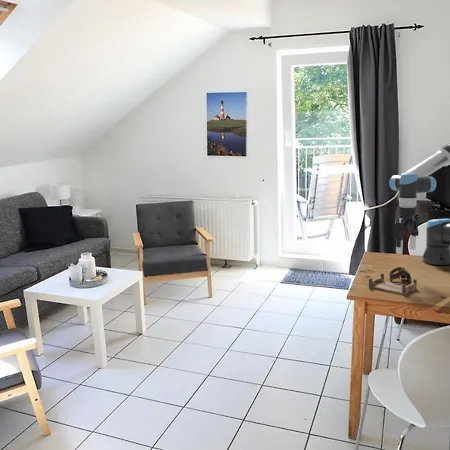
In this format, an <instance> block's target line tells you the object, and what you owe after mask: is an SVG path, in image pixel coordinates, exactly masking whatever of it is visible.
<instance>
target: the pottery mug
mask: <svg viewBox="0 0 450 450" xmlns="http://www.w3.org/2000/svg"><path fill="white" fill-rule="evenodd" d="M388 276H389V280H390V281H389V282H392V281H393V280H397V279H399V280H401V279H403V280H405V279H406V281H408V282H409V285H410V284H412V283H413V280H412V277H411V273H410V272H409V271H408V270H407V268H405V267H403V266H397V267H395V268H393V269H391V270H390V272H389V274H388Z"/></svg>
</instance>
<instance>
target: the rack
mask: <svg viewBox="0 0 450 450" xmlns="http://www.w3.org/2000/svg"><path fill="white" fill-rule="evenodd" d="M417 282H418V280H417V278H413V280H412V283H411V284H410V283H409V284H408V285H407V284H404V283H399V282H398V283H397V282H392V281H386V280H385V274H384V273H380V277H376V278H374V279H373V278H372V277H369V278H368V288H369V289H374V290H377V291H382V292H387V293H392V294H397V295H402V296H405V295H407V294H409V293H411V292H414V291H415V290H417V287H418V285H417V284H418V283H417Z"/></svg>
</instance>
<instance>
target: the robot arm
mask: <svg viewBox="0 0 450 450" xmlns="http://www.w3.org/2000/svg"><path fill="white" fill-rule="evenodd" d="M449 165H450V143H447V144H446V145H443V146H442V147H440V148H438V149H437V150H436V151H435V152H434V154H432V155H431V156H429V157H427V158H426V159H424V160H422V162H420V163H418V164H417V165H415V166H413V167H411V168H410V169H408V170H407V171H405V172H404V173H401V174H400V175H399V174H397V175H392V176H391V178H390V179H389V183H388V185H389V188H390V189H391V190H392V191H397V192H399V193H398V194H399V196H398V198H399V199H398V201H399V202H398V206H399V207H398V215H399V216H401V217H400V218H397V223H396V224H397V225H396V228H395V232H394V236H393V240H395V244H396V245H395V254H397V255H403V247H404V246H403V243H404V241H403V237H404V235H405V232H406V229H408V231H409V234H410V235H409V250H413V251H414V250H415V251H416V247H417V245H416V244H417V237H418V236H419V228H418V223H417V215H416V214H417V200H418V199H417V197H418V194H421V193H422V194H423V193H426V194H427V193H431V192H434V191H435V190H436V188H437V181H436V178H434V177H433V176H430V175H432V174H434V172H436V171H438V170H440V169H441V168H443V167H448V166H449ZM425 239H426V240H425V241H426V244H425V245H426V246H425V249H424V252H423V254H422V262H423V263H425V264H429V265H433V266H434V265H435V266H437V265H438V266H439V265H440V266H446V265H450V218H436V219H435V218H434V219H430V220H428V221H427V222H426V238H425Z"/></svg>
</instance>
